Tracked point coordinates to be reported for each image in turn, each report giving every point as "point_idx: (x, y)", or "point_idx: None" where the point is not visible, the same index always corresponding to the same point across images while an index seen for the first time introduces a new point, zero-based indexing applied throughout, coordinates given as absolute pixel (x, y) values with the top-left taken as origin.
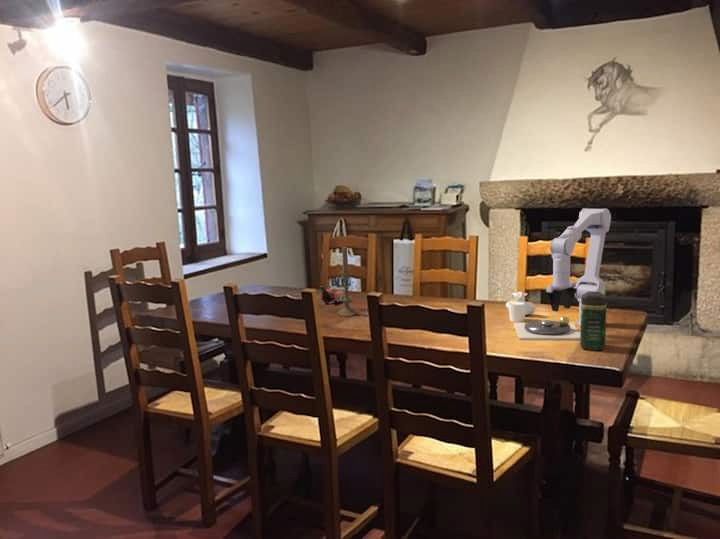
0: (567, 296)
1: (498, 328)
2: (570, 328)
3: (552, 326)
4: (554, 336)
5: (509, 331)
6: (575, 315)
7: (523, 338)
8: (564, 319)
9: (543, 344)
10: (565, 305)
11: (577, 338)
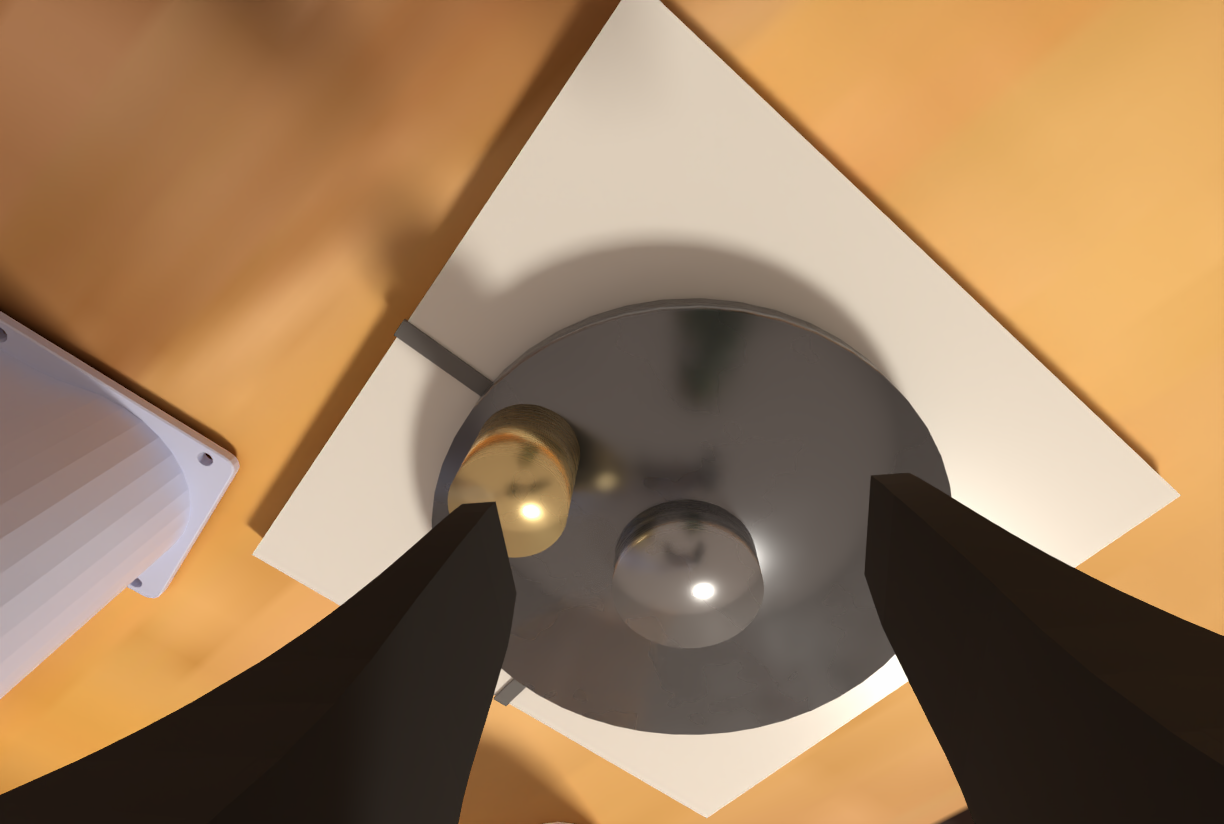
0: (408, 766)
1: (891, 802)
2: (428, 430)
3: (674, 500)
4: (866, 294)
5: (917, 708)
6: (38, 721)
7: (1143, 464)
8: (550, 464)
9: (1199, 178)
10: (500, 603)
11: (709, 48)
